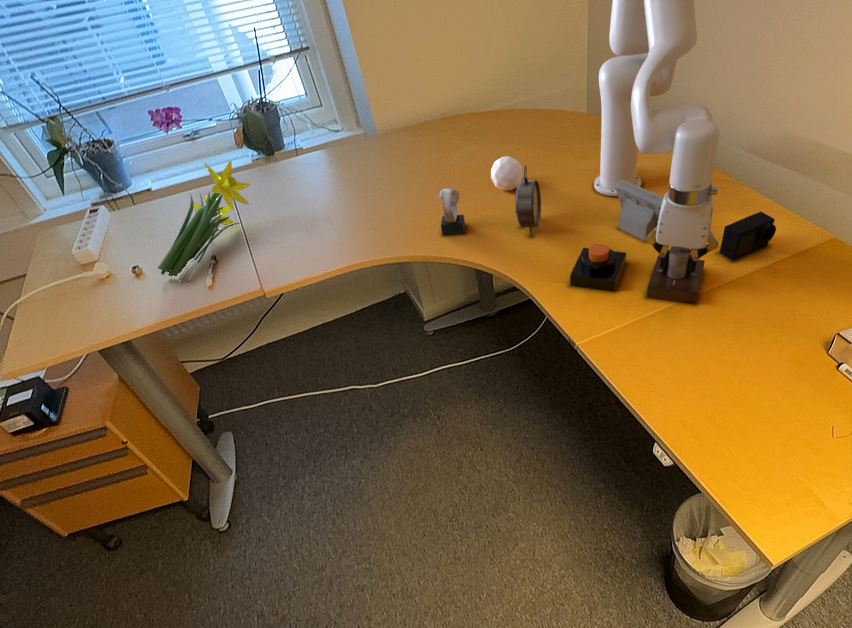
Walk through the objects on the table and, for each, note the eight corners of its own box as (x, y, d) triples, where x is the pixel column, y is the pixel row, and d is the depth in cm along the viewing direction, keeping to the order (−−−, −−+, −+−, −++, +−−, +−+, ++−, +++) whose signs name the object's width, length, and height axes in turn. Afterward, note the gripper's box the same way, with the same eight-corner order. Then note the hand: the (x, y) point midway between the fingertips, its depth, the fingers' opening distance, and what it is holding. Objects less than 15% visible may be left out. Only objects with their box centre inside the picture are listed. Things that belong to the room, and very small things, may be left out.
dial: (664, 277, 122) (667, 254, 118) (667, 265, 125) (671, 242, 120) (686, 280, 121) (689, 256, 116) (688, 268, 123) (692, 244, 119)
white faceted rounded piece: (532, 184, 158) (518, 172, 167) (518, 154, 152) (505, 143, 161) (505, 201, 159) (493, 188, 168) (490, 172, 153) (479, 159, 162)
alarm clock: (536, 239, 143) (532, 176, 131) (515, 239, 144) (509, 177, 132) (542, 216, 150) (539, 155, 138) (522, 216, 151) (517, 155, 139)
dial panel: (656, 266, 130) (658, 254, 128) (702, 271, 127) (705, 259, 125) (646, 298, 123) (647, 285, 120) (694, 304, 120) (697, 292, 117)
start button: (591, 250, 129) (591, 242, 127) (611, 253, 127) (611, 244, 126) (586, 261, 126) (586, 253, 125) (606, 264, 125) (606, 256, 123)
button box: (583, 258, 135) (583, 239, 131) (625, 263, 132) (626, 244, 128) (570, 286, 128) (570, 267, 125) (614, 292, 125) (615, 273, 122)
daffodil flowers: (144, 281, 149) (209, 184, 163) (202, 305, 153) (260, 208, 167) (130, 246, 134) (202, 143, 149) (194, 273, 138) (259, 170, 152)
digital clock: (678, 237, 137) (683, 196, 129) (646, 250, 135) (650, 208, 127) (637, 209, 147) (640, 169, 139) (607, 220, 145) (609, 180, 137)
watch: (466, 221, 152) (459, 181, 144) (463, 238, 146) (456, 197, 138) (445, 222, 152) (437, 183, 144) (441, 239, 147) (433, 199, 139)
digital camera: (736, 264, 128) (742, 236, 122) (718, 253, 131) (724, 225, 126) (771, 248, 130) (779, 220, 125) (753, 238, 134) (760, 210, 129)
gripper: (737, 185, 109) (720, 266, 122) (647, 178, 114) (640, 257, 127) (733, 205, 104) (716, 287, 118) (640, 197, 109) (633, 277, 123)
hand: (677, 271), depth 122 cm, fingers closed on dial, 4 cm apart
